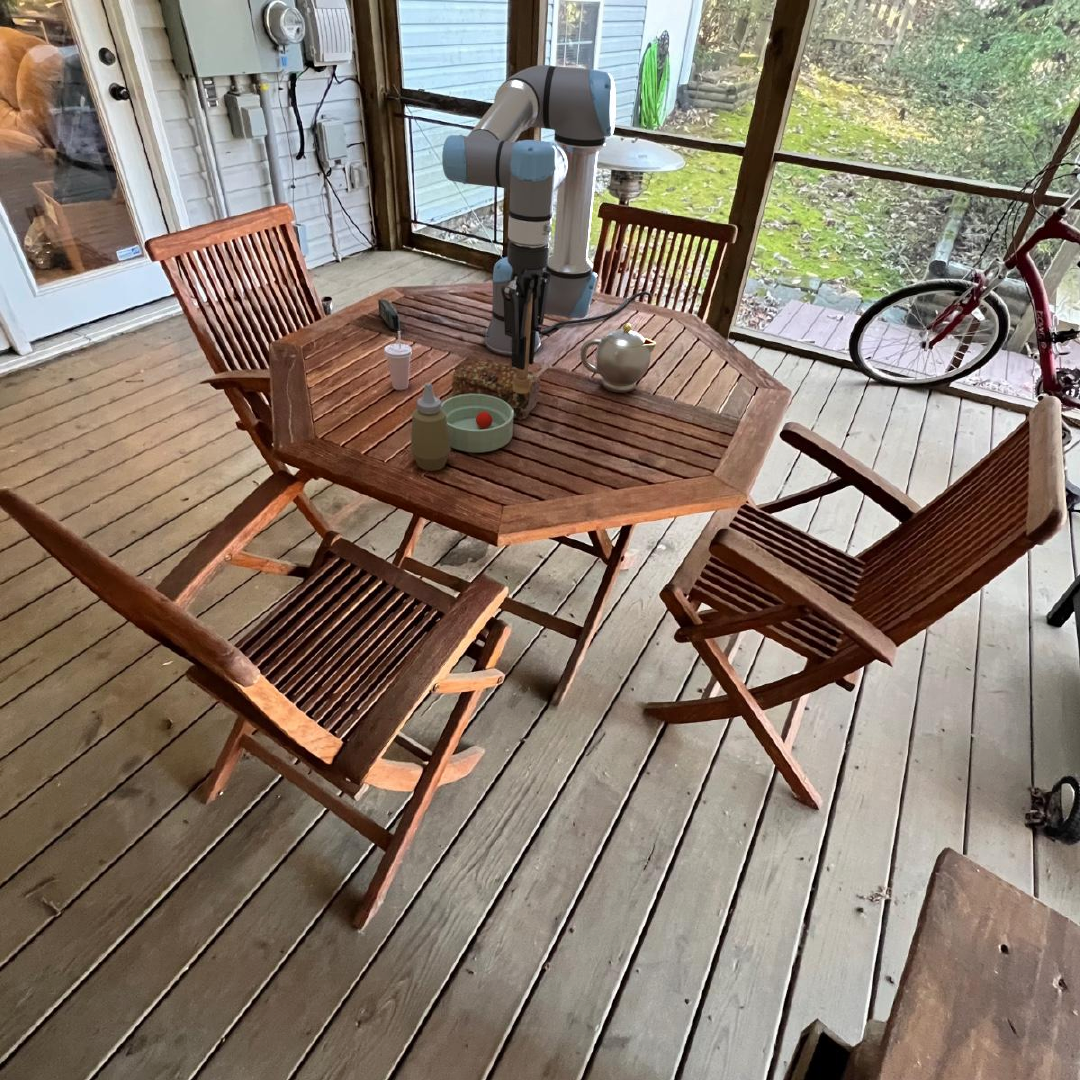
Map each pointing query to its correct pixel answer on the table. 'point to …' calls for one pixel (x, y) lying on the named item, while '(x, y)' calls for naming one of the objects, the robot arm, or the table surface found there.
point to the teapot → (620, 358)
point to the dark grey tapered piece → (389, 314)
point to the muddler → (521, 376)
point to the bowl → (466, 429)
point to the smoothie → (398, 363)
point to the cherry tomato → (484, 420)
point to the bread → (494, 384)
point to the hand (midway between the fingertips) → (522, 364)
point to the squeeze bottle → (430, 432)
